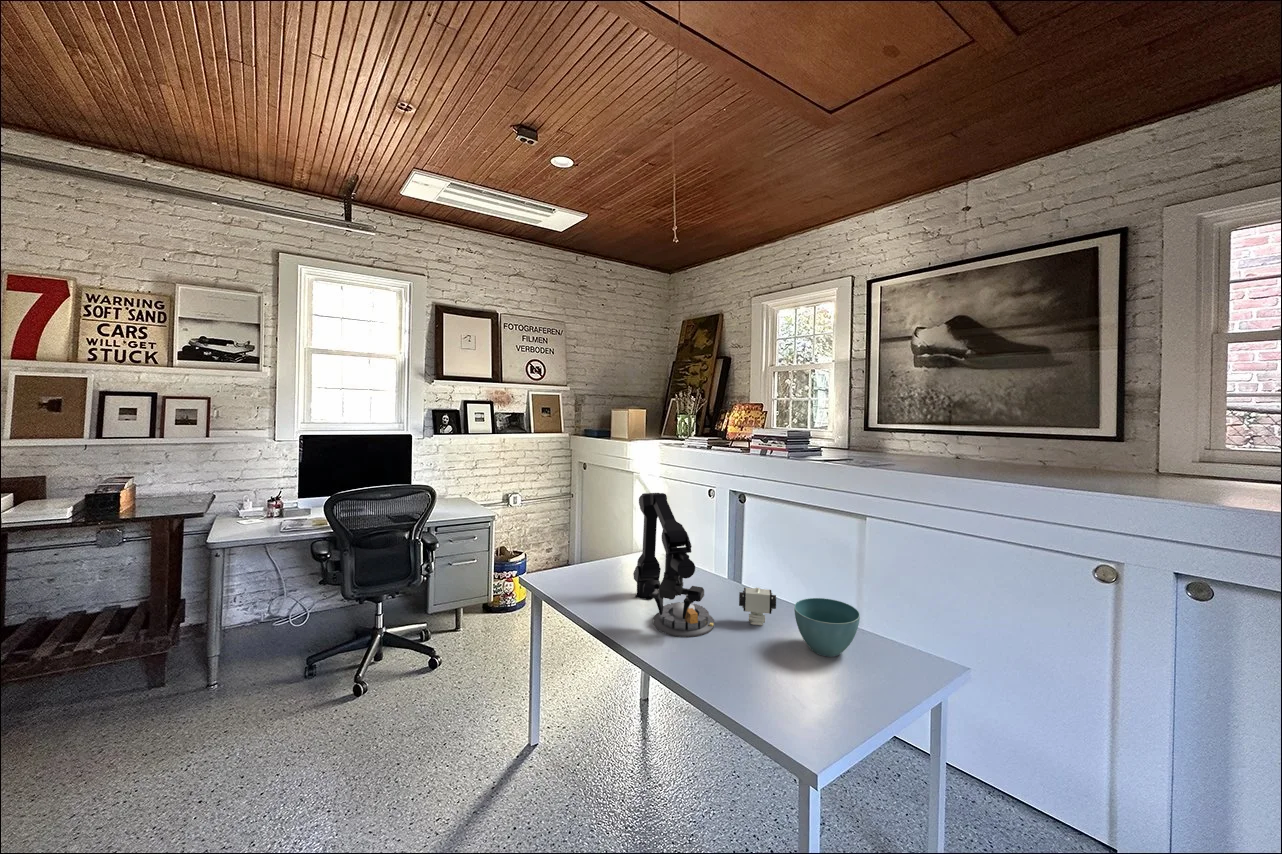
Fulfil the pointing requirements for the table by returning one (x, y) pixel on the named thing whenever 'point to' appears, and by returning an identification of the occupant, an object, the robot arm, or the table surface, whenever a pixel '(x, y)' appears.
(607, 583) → the table surface
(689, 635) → the cap base
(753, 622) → the pneumatic valve
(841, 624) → the teal hollow rounded piece
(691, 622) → the grey toothed bowl
